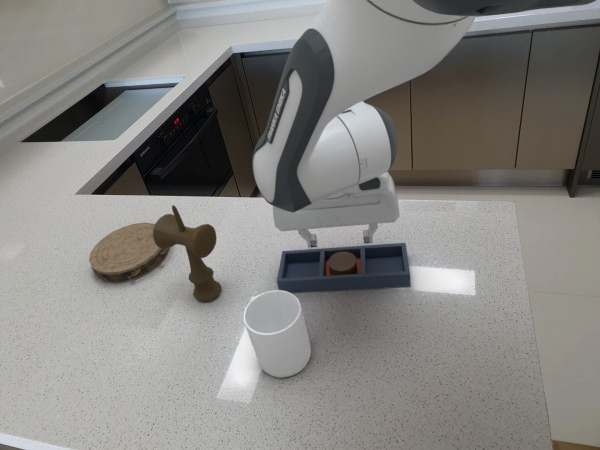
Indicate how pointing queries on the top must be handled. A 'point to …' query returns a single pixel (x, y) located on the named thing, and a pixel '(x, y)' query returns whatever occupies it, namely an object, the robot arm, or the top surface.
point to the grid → (371, 274)
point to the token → (342, 264)
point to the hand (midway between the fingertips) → (340, 243)
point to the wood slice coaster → (127, 254)
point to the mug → (278, 332)
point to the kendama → (190, 250)
